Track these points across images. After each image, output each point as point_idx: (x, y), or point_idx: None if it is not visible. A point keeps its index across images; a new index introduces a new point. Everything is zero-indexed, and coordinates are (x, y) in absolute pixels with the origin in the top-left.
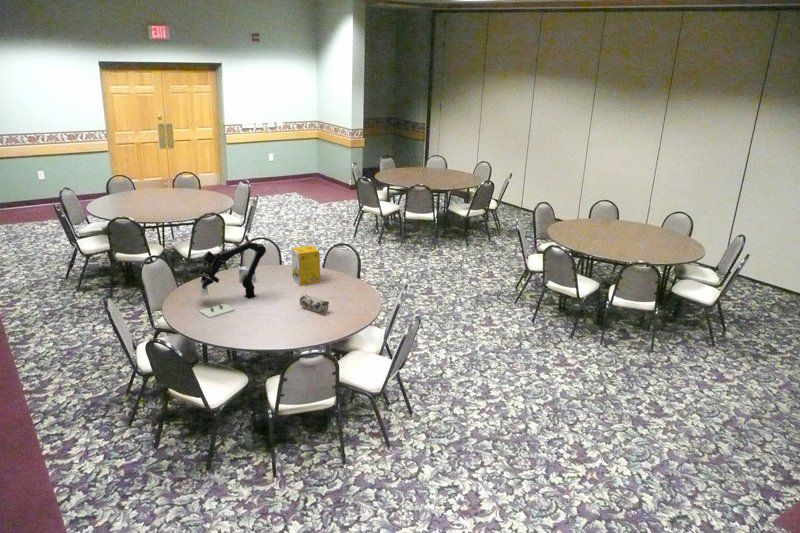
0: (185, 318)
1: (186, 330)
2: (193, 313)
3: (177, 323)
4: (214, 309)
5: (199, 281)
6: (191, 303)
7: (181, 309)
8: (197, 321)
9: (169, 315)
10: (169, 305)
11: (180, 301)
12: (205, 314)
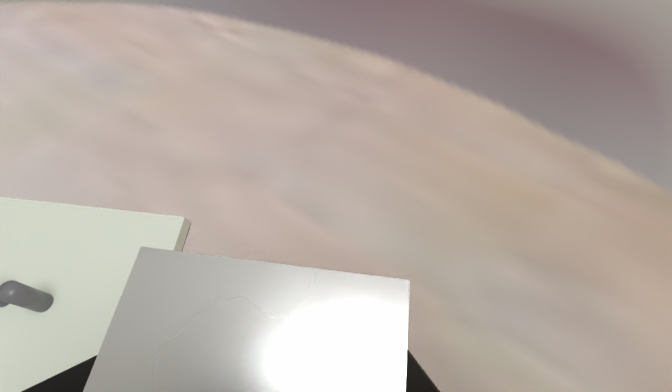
0: (188, 85)
1: (25, 3)
2: (212, 173)
3: (170, 19)
4: (33, 357)
5: (380, 297)
6: (473, 309)
7: (389, 156)
8: (49, 108)
9: (346, 48)
10: (562, 139)
11: (615, 260)
12: (45, 203)
